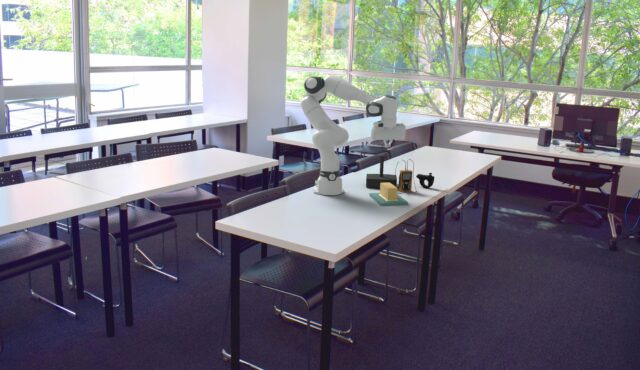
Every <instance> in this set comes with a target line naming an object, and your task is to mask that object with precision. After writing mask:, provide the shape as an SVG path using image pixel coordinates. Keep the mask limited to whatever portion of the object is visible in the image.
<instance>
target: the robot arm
mask: <svg viewBox="0 0 640 370" xmlns="http://www.w3.org/2000/svg"><path fill="white" fill-rule="evenodd" d="M303 87H304V90H305V91H306V96H304V98H302V100H301V102H300V107H301V109H302V112H303V114H304V115H305V117H306V119H307V121H308V122H309V123H310V125H311V127H312V128H313V129H315V130H317V131H316V132H314V133H313V135H312V137H311V139H312V144H313V145H314V147H315V148H316V149H317V150H318V153H319V156H320V169H319V177H318V178H317V180H315V181H314V186H313V193H314V194H317V195H318V194H319V195H323V196H337V195H340V194H344V193H345V191H346V190H344V189H343V180H342V177H340V175H341V170H340V160H341V159H340V156H339V155H338V154H337V153H336V152H335V147H339V146H343V145H344V144H345V145H346V143H348V141H349V136H350V135H349V132H348V130H347V129H346V128H344V127H341V126H340V125H339V124H337V123H335V121H333V119H331V118H330V117H329V115H328V114H327V112H326V111H325V110H324V108H323V107H322V105H321V103H322V102H323V101H324V100H326V98H327V95H328V93H329V94H331V95H333V96H334V97H336V98H338V99H341V100H344V101H357V102H360V103H363V104H364V105H366V106H365V112H366V114H367V115H368V116H369V117H371V118H377V117H381V118H380V120H377V121H374V122H373V124H372V126H373V127H372V128H371V133H370V138H371V139H372V140H373V141H376V140H377V141H382V140H383V143H384V147H385V148H391V146H392V143H393V142H394V140H405V139H406V125H405V124H404V123H397V120H398V119H397V112H398V99H397V97H395V96H394V95H389V94H385V95H383V96H382V97H379V98H378V97H377V96H376V97H375V96H373V95H371V94H369V93H368V92H365V91H364V90H362V89H360V88H359V87H356V86H355V85H353V84H352V83H351V82H349V81H347V80H346V79H344V78H341V76H340V77H339V76H338V75H334V74H328V75H326V76H325V77H324V78H323V77H322V76H312V75H311V76H308V77H307V78H306V79H305V81H304V82H303ZM387 141H389V142H388V143H387Z"/></svg>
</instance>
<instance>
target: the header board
mask: <svg viewBox="0 0 640 370" xmlns="http://www.w3.org/2000/svg"><path fill="white" fill-rule="evenodd" d="M368 194H369V197H370V198H372V200H374V201H375V202H376V203H377V204H379V205H380V207H381V206H404V205H406V206H407V205H409V201H408V200H407V199H405V198H403V197H402V196H401V195H399V193H397V200H386V199H385V198H384V197H383V196H381V195H380V192H369V193H368Z"/></svg>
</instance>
